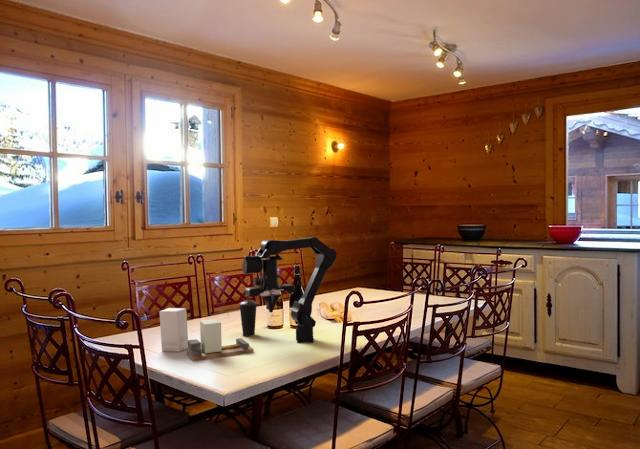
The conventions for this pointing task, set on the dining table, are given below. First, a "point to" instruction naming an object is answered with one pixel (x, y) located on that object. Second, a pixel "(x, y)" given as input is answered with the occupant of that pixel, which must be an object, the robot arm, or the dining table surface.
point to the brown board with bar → (198, 354)
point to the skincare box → (174, 329)
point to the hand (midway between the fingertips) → (270, 312)
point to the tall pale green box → (211, 335)
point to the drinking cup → (248, 316)
